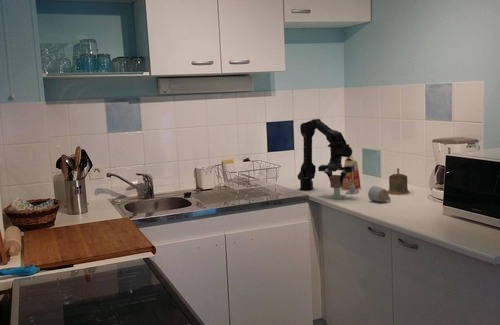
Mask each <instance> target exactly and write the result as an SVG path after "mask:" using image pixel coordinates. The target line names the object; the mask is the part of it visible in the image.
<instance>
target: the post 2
mask: <svg viewBox="0 0 500 325" xmlns="http://www.w3.org/2000/svg"><path fill="white" fill-rule="evenodd" d="M358 193H360V191H359V190H357V191H355V186H352V185H351V186H349V191H348V190H347V191H346V192H345V195H357V194H358Z"/></svg>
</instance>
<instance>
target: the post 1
mask: <svg viewBox="0 0 500 325" xmlns="http://www.w3.org/2000/svg"><path fill="white" fill-rule="evenodd" d="M344 197H346V194H341V188H333V193H332V194H331V195H330V196H328V198H329V199H343V198H344Z"/></svg>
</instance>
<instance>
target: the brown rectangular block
mask: <svg viewBox="0 0 500 325" xmlns="http://www.w3.org/2000/svg"><path fill="white" fill-rule="evenodd" d="M329 182H330V186H329V187H330V188H332V189H334V188H340V189H341V187H342V186H343V183H342V185H341V174H332V176H330V180H329Z"/></svg>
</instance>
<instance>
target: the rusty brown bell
mask: <svg viewBox="0 0 500 325" xmlns="http://www.w3.org/2000/svg"><path fill="white" fill-rule="evenodd" d="M388 178H389V179H388V184H389V185H388V190H387V191H388V193H389V195H394V196H395V195H396V196H400V195H401V196H402V195H409V194H410V191H409V189H408V176H407V174H403V173H400V168H398V167H397V168H396V173H393V174H391V175H388Z"/></svg>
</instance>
